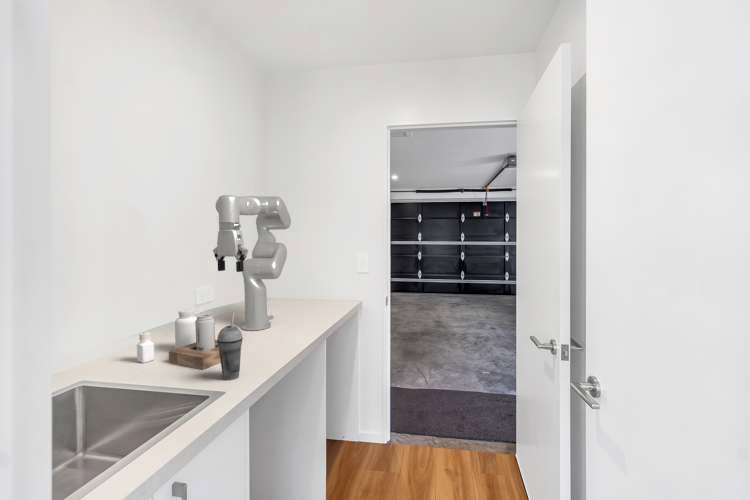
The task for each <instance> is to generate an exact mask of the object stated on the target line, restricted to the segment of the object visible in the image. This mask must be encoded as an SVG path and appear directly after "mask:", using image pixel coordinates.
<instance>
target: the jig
mask: <svg viewBox="0 0 750 500" xmlns="http://www.w3.org/2000/svg"><path fill="white" fill-rule="evenodd" d="M168 362H169V364H174V365H178V366H183V367H188V368H192V369H198V370H202V371H203V370H205V369H206V370H207V369H209V368H211V367H213V366H216V365H218V364H221V360H220V352H219V347H218V342H217V339H215V348H214V349H211V350H208V351H205V352H202V351H197V350H196V343H192V344H189V345H186V346H183V347H180V348H177V349H176V348H174V349H171V350H168Z"/></svg>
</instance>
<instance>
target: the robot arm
mask: <svg viewBox="0 0 750 500" xmlns="http://www.w3.org/2000/svg"><path fill="white" fill-rule="evenodd" d="M215 210H216V211H217V213H218V230H219V231H217V241H216V242H217V243H216V245H217V246H216V247H214V248H213V249H212V252H213V254H214V258H215V261H216V262H217V272H223V271H225V270H226V260H225V258H226V257H229V258H230V257H234V258H235V259H236V262H235V271H236V272H237V273H240V272H241V274H242V278H243V286H244V287H243V288H244V318H245V320H244V322H245V323H244V324H242V325H241V329H242V330H243V331H250V332H252V331H261V330H266V329H269V328H271V327H272V323H270V322H269V321H271V320H273V319H274V315H273V314H271V315H268V307H267V305H268V304H267V301H268V300H267V299H268V298H267V296H268V295H267V293H268V292H267V287H266V285H265V282H263V280H277V279H278V278H280V276H281V274H282V272H283V268H284V267H285V266H284V265H285V264H286V260H287V256H288V252H287V251H288V249H287V246H286V245H285V244H284V243H282V242H277V239H276V236H275V235H274V234H273V233H272V232H271V231H270V230H273V231H274V230H275V231H276V230H287V229H289V228H290V227H291V225H292V219H291V216H290V213H289V210H288V208H287V206H286V204H285V202H284V200H283V199H282V198H281V197H280V196H277V195H275V196H270V195H269V196H260V195H259V196H255V195H246V196H245V195H244V196H238V195H234V194H233V195H229V194H226V195H225V194H223V195H219V196H218V198H217V200H216V202H215ZM240 216H256V218H255V224H256V225H255V226H256V230H257V231H256V232H257V235H258V236H257V237H258V238H257V241H256V242H255V245H254V247H253V249H252V251H251V258H248V257H247V255H248V253H249V250H248V249H247V248H246V247H245V246H244V245H245V244H244V243H245V242H244V236H243V233H242V230H241V229H240V228H241V224H240ZM246 258H247V259H246Z"/></svg>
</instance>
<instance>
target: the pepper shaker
mask: <svg viewBox="0 0 750 500" xmlns="http://www.w3.org/2000/svg"><path fill="white" fill-rule="evenodd" d="M138 336H139V342H138V343H137V344H136V357H137V359H136V360H137V362H139V363H141V364H145V363H149V362H151V361H154V360H155V343H154V341H151V337H152V336H151V332H149V331H148V332H145V331H144V332H140V333H139V335H138Z"/></svg>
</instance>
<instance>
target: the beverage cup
mask: <svg viewBox="0 0 750 500" xmlns="http://www.w3.org/2000/svg"><path fill="white" fill-rule="evenodd" d="M234 317H235V310H232V314H231V324H230V325H227V326H224V327H222V329H221V330H220V331H219V333H218V334H217V339H216V340H217V342H218V347H219V352H220V360H221V363H220V365H221V374H222V379H223V380H224V381H232V380H237V379H238V378H240V369H241V353H242V345H243V340H244V338H243V333H242V331H241V330H240V328H238V327H237V326H236V325H235V326H234Z"/></svg>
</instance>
